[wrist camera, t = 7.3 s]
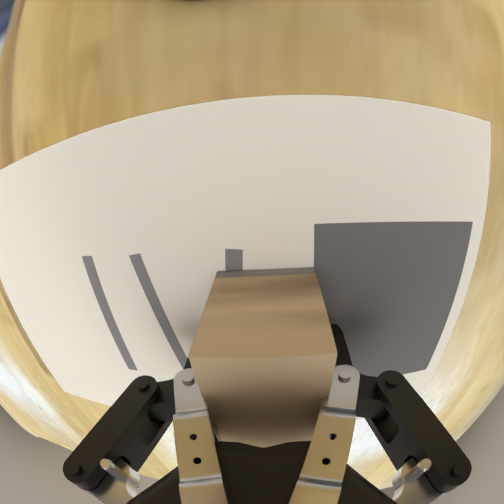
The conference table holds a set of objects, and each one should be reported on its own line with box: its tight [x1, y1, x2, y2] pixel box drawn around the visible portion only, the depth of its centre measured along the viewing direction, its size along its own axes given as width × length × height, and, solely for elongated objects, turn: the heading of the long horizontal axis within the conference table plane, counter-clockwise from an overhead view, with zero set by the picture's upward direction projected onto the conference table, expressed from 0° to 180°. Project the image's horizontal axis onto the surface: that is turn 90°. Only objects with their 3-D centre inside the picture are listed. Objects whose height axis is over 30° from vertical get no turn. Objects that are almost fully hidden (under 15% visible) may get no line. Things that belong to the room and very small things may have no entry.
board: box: [0, 95, 491, 419], centre depth 15 cm, size 22×34×2 cm, turn 95°
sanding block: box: [188, 267, 337, 448], centre depth 12 cm, size 7×4×6 cm, turn 4°
